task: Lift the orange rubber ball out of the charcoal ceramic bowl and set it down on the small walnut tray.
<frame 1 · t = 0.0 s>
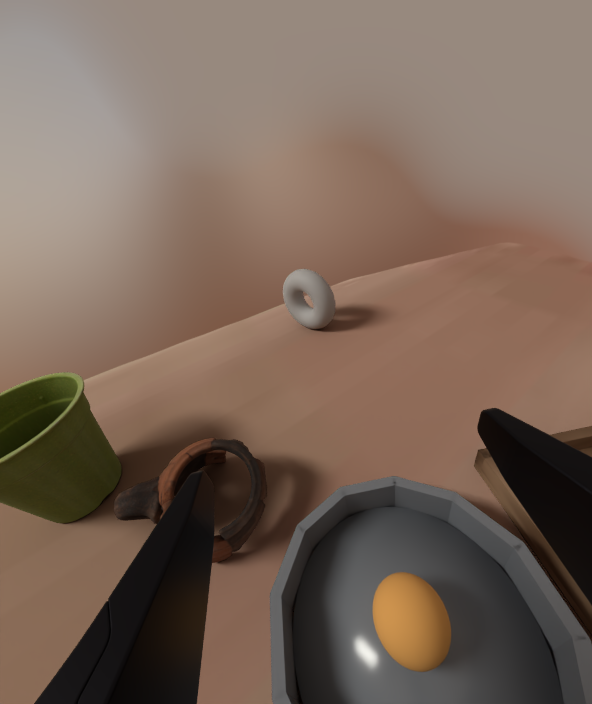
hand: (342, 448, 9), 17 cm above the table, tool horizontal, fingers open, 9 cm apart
plant pot: (88, 491, 31), on the table
bowl: (408, 630, 17), on the table
donut: (313, 327, 49), on the table
broken clay ring: (209, 511, 26), on the table
ball: (409, 627, 17), point 1 cm above the table, touching bowl
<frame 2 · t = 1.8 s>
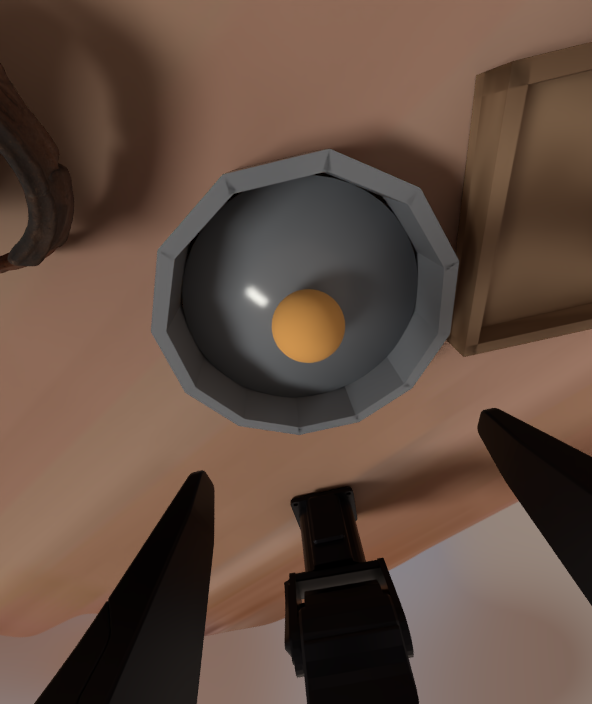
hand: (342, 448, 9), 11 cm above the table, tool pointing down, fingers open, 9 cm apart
tray: (552, 216, 16), on the table
bowl: (302, 306, 18), on the table
ball: (303, 310, 18), point 1 cm above the table, touching bowl
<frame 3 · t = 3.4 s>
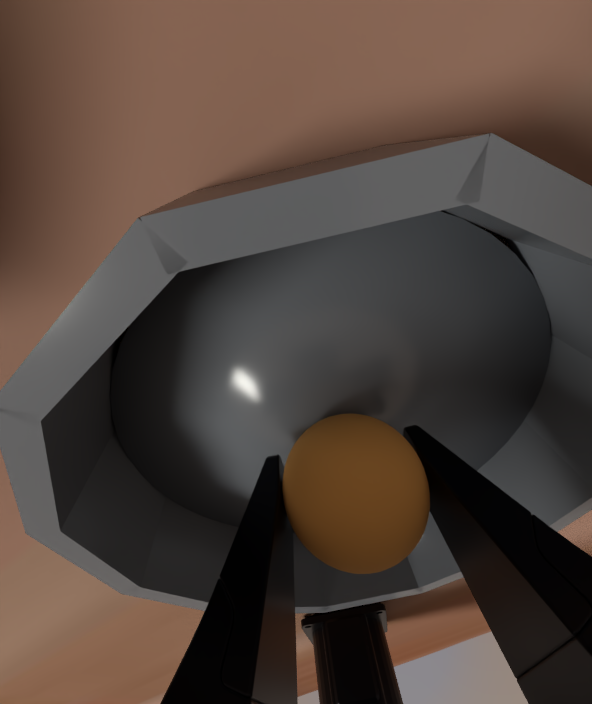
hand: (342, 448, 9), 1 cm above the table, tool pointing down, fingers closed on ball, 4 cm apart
bowl: (333, 417, 10), on the table
ball: (337, 430, 10), point 1 cm above the table, touching bowl, gripper
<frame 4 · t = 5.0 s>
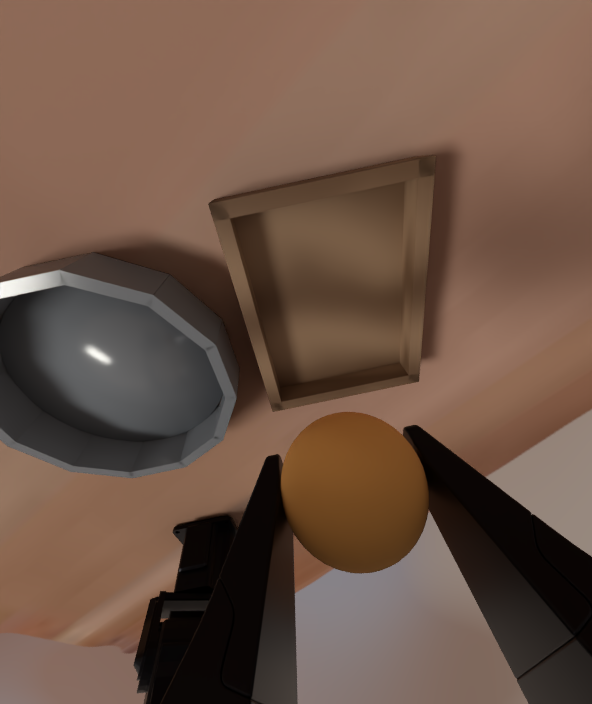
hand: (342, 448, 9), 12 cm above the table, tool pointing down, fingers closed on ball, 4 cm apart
tray: (329, 298, 19), on the table
bowl: (125, 367, 21), on the table
ball: (336, 429, 10), point 11 cm above the table, touching gripper
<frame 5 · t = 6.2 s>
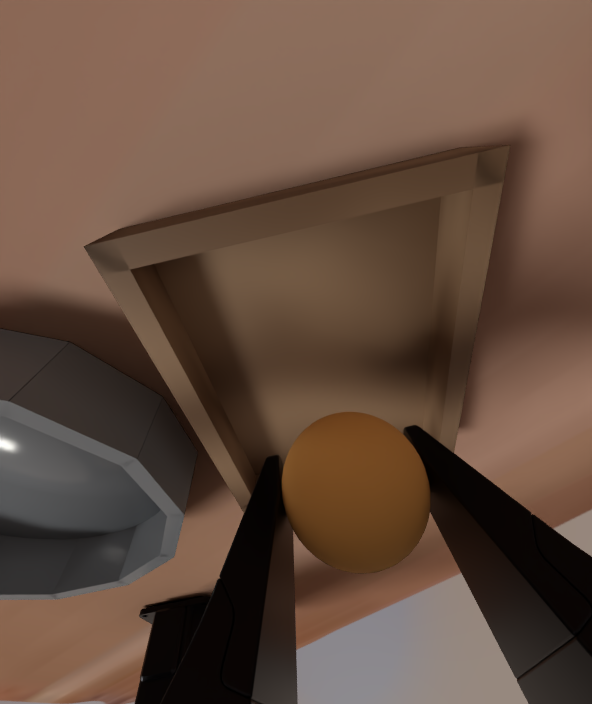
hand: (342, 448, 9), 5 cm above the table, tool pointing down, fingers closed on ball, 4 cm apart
tray: (319, 363, 13), on the table
bowl: (33, 459, 15), on the table
ball: (337, 429, 10), point 4 cm above the table, touching gripper
when the fingers open (2 cm above the table, at t = 6.9 s): ball drops 1 cm, resting on tray.
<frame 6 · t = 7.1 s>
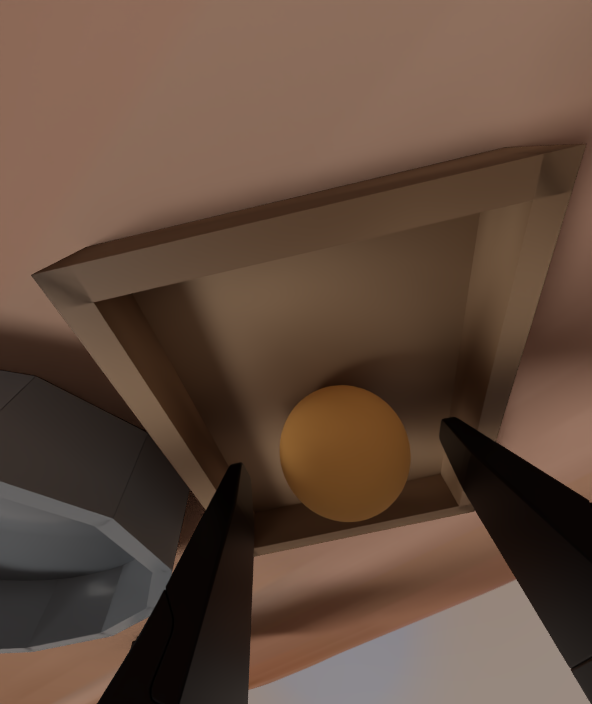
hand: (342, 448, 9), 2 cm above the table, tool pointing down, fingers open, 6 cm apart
tray: (327, 395, 11), on the table
bowl: (3, 499, 13), on the table
ball: (330, 404, 11), point 1 cm above the table, touching tray
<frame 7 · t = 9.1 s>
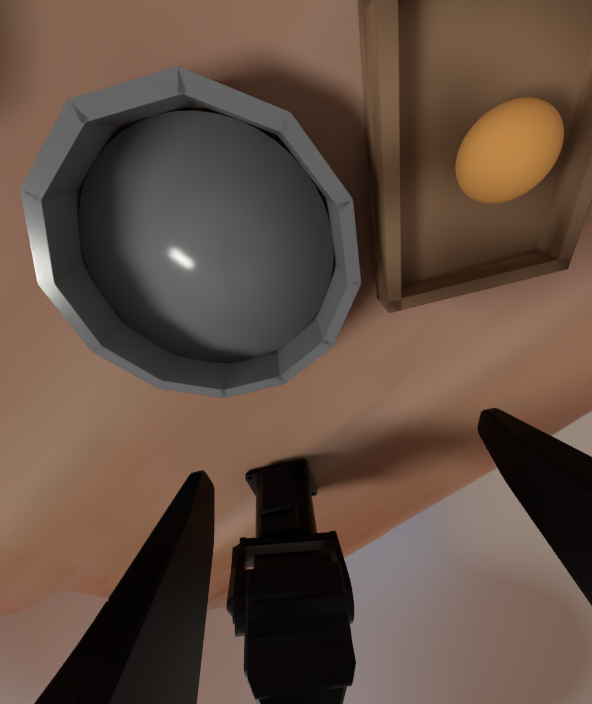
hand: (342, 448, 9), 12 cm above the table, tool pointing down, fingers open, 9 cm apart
tray: (470, 156, 16), on the table
bowl: (216, 262, 17), on the table
ball: (477, 154, 15), point 1 cm above the table, touching tray
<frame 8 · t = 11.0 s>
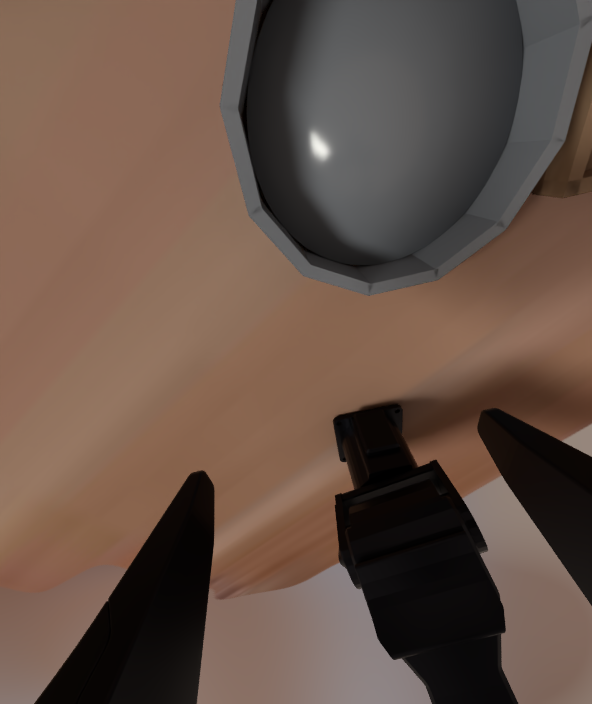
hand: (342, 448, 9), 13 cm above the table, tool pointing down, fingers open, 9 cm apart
bowl: (379, 131, 15), on the table
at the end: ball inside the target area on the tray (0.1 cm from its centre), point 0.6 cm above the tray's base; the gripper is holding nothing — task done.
